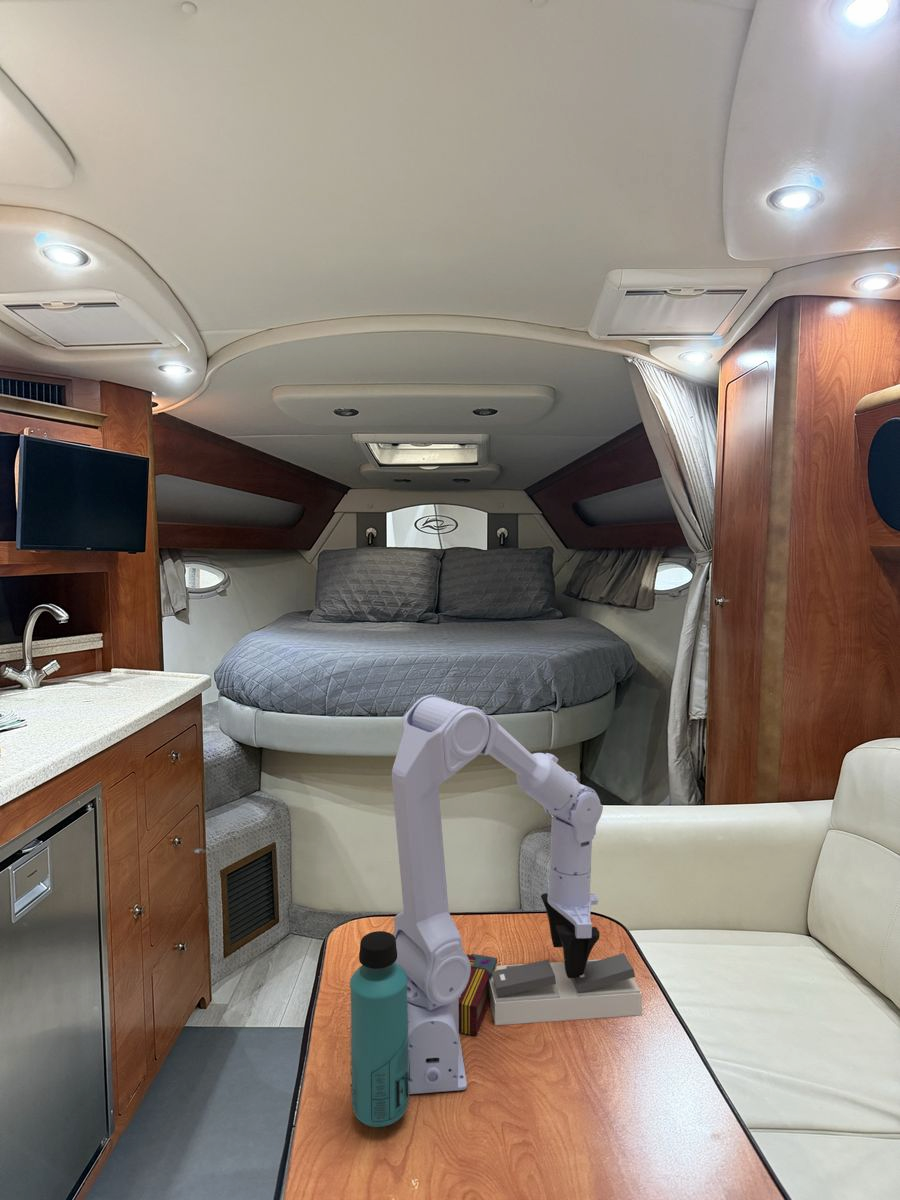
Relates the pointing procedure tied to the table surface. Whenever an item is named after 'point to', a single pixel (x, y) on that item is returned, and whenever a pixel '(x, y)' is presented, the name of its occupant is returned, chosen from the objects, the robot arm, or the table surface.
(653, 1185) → the table surface
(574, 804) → the robot arm
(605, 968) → the rocker outer
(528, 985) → the rocker inboard
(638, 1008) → the base
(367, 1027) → the beverage bottle
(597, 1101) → the table surface
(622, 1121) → the table surface
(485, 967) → the decorative book
